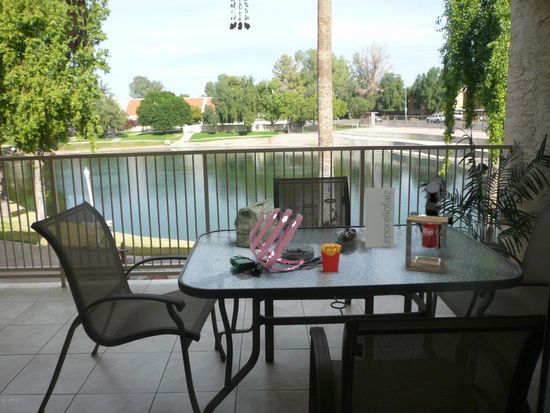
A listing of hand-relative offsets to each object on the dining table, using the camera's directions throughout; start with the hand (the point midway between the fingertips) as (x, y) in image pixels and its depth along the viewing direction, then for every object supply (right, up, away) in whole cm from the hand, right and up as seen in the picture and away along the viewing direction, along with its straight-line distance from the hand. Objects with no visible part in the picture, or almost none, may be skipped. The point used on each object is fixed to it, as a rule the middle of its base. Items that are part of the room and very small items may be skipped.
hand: (429, 233), depth 205 cm
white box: (-17, -8, +26) cm, 32 cm away
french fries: (-46, -16, -9) cm, 49 cm away
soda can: (+1, -6, +2) cm, 7 cm away
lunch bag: (-80, -7, +42) cm, 90 cm away
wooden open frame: (-4, -14, -7) cm, 16 cm away
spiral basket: (-69, -15, -2) cm, 71 cm away
